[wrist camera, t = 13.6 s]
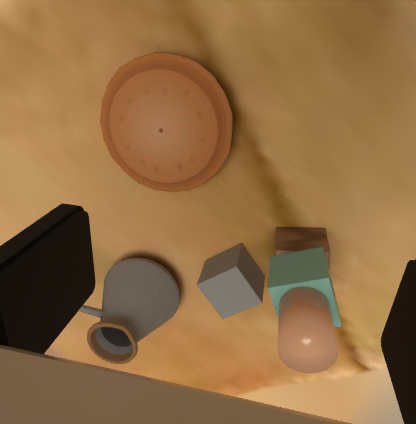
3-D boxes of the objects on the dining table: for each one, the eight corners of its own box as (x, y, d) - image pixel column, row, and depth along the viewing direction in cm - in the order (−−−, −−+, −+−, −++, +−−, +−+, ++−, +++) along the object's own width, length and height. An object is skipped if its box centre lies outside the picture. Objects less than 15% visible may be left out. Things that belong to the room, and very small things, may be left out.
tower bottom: (325, 227, 45) (330, 251, 39) (322, 268, 47) (327, 296, 42) (276, 227, 46) (275, 250, 41) (276, 266, 48) (275, 293, 43)
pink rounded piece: (335, 292, 35) (345, 337, 29) (322, 330, 37) (329, 378, 31) (284, 281, 35) (284, 323, 30) (274, 320, 37) (272, 365, 32)
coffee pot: (199, 279, 52) (169, 359, 39) (160, 323, 57) (122, 408, 44) (76, 194, 50) (0, 247, 37) (47, 248, 55) (-29, 311, 42)
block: (241, 242, 48) (236, 266, 43) (264, 275, 50) (262, 302, 44) (206, 259, 50) (196, 284, 45) (229, 291, 52) (222, 318, 46)
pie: (144, 196, 48) (130, 211, 44) (92, 81, 43) (70, 85, 39) (253, 162, 43) (250, 175, 39) (209, 29, 38) (200, 27, 34)
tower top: (322, 246, 39) (328, 277, 34) (334, 290, 41) (341, 326, 36) (269, 257, 41) (267, 288, 36) (283, 298, 43) (283, 333, 38)
